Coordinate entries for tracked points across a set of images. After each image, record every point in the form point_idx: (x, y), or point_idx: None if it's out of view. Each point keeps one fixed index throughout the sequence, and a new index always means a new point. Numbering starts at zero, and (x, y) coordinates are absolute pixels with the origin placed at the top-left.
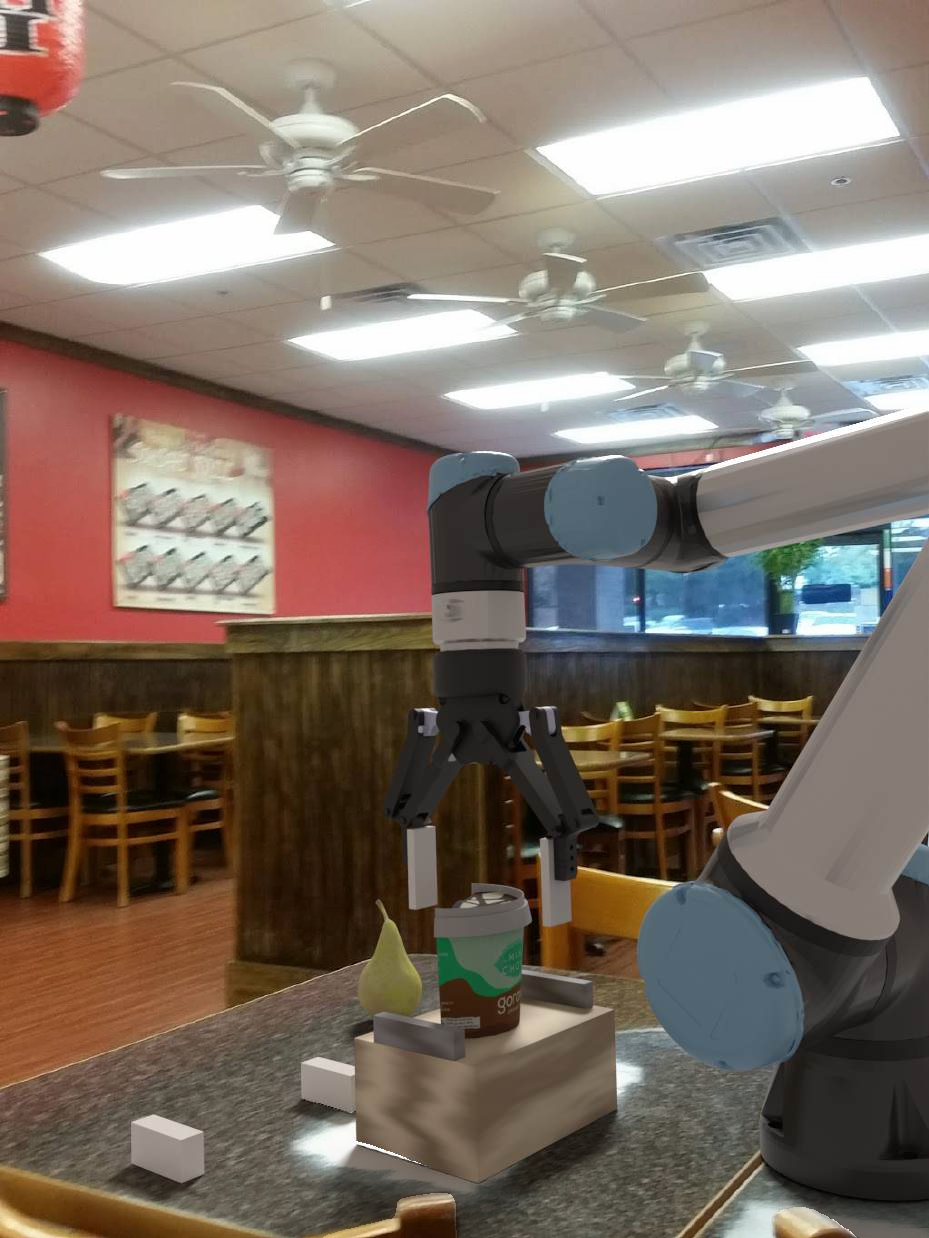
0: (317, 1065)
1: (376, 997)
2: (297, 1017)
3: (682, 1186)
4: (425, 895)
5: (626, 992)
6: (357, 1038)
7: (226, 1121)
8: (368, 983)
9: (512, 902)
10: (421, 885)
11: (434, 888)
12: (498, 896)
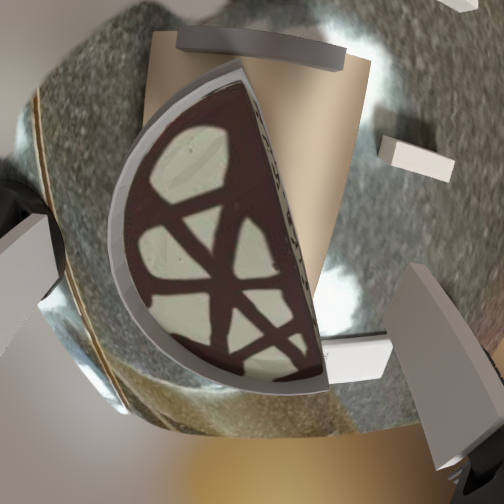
0: (439, 158)
1: None
2: (490, 309)
3: (61, 137)
4: (405, 307)
5: (290, 425)
6: (365, 60)
7: (461, 86)
8: None
9: (110, 261)
10: (420, 313)
11: (396, 339)
12: (253, 365)
